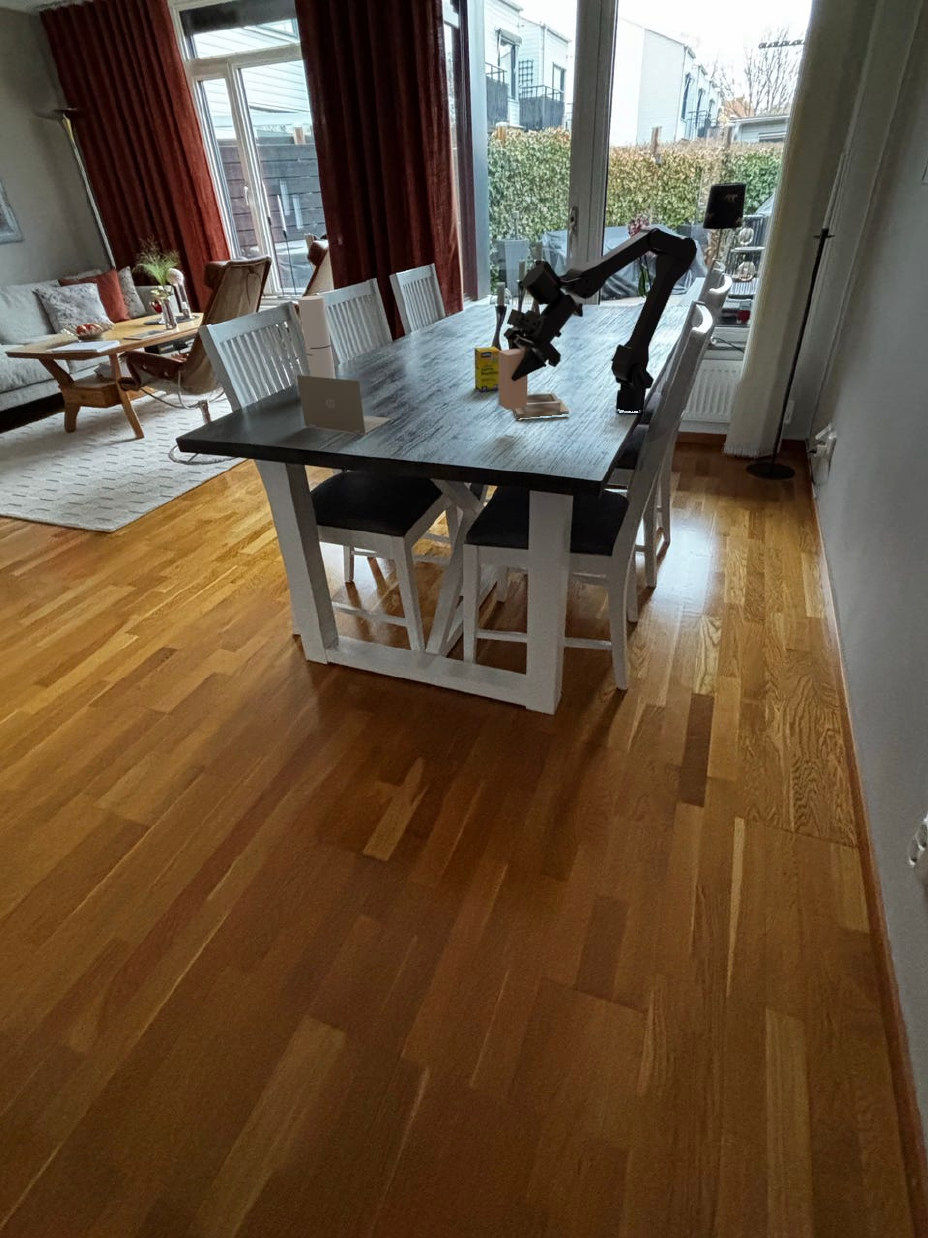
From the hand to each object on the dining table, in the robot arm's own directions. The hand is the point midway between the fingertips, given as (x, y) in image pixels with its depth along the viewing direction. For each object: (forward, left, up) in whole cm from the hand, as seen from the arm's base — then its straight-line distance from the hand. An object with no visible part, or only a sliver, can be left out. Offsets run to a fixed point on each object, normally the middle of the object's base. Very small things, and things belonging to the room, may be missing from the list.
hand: (507, 377), depth 146 cm
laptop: (+41, -2, -13) cm, 43 cm away
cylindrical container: (+59, -32, -13) cm, 68 cm away
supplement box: (+11, -37, -13) cm, 40 cm away
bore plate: (-6, -16, -13) cm, 21 cm away
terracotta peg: (-1, -1, -7) cm, 7 cm away
